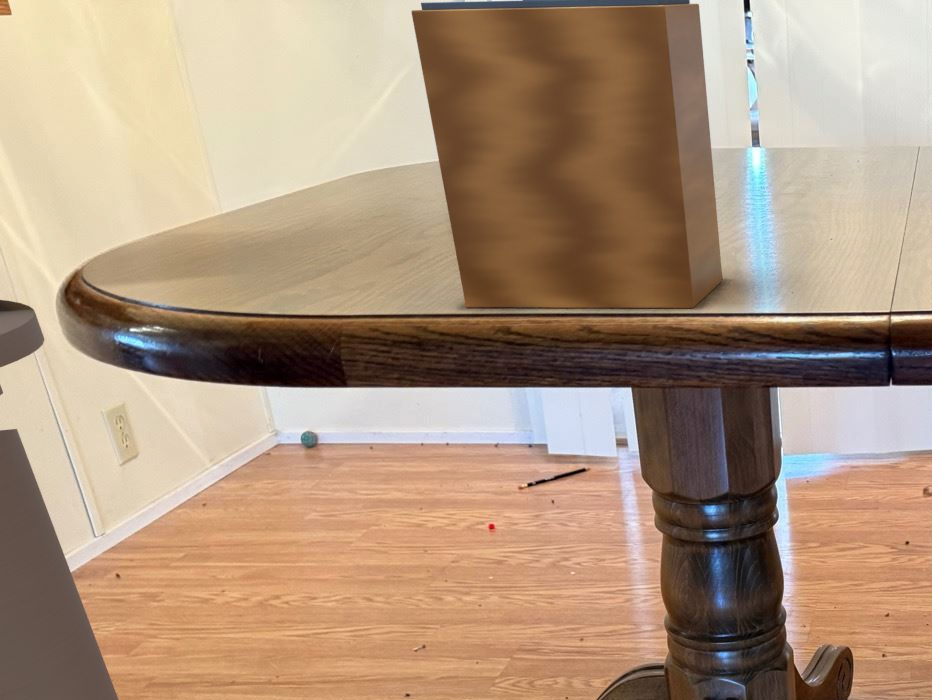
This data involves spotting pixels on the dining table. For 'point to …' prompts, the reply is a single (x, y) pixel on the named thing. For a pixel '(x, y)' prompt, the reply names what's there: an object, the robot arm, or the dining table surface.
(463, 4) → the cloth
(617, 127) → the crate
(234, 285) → the dining table surface
